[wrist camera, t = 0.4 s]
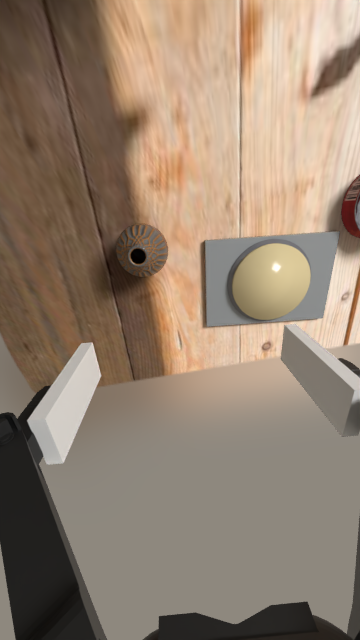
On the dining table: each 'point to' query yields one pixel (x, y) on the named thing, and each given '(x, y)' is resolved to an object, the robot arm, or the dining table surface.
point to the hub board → (268, 277)
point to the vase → (142, 250)
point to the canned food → (352, 208)
